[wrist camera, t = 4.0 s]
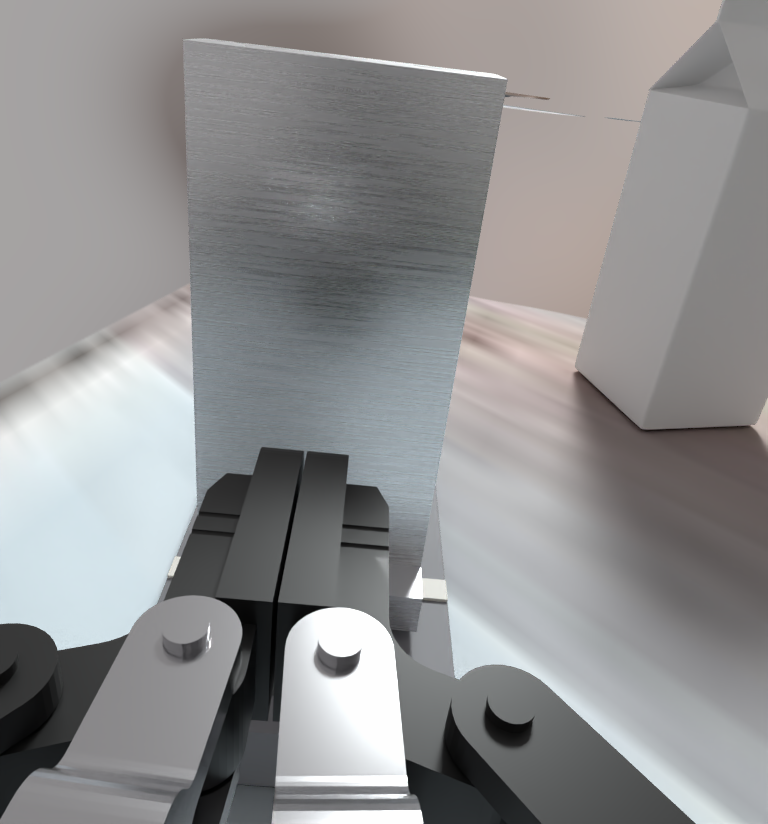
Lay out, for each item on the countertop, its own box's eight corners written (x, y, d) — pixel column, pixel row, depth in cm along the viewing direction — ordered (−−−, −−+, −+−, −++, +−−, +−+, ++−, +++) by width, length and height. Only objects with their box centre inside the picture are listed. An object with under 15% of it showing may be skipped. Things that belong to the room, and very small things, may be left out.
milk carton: (572, 369, 40) (674, -8, 31) (675, 368, 42) (800, 12, 33) (639, 433, 34) (790, -11, 25) (756, 428, 36) (936, 14, 27)
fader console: (264, 371, 36) (265, 334, 35) (416, 387, 36) (422, 350, 35) (116, 775, 16) (109, 718, 15) (448, 799, 17) (462, 745, 16)
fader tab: (221, 517, 21) (216, 37, 15) (412, 534, 22) (488, 71, 15) (188, 612, 18) (164, 40, 11) (416, 632, 18) (518, 84, 12)
